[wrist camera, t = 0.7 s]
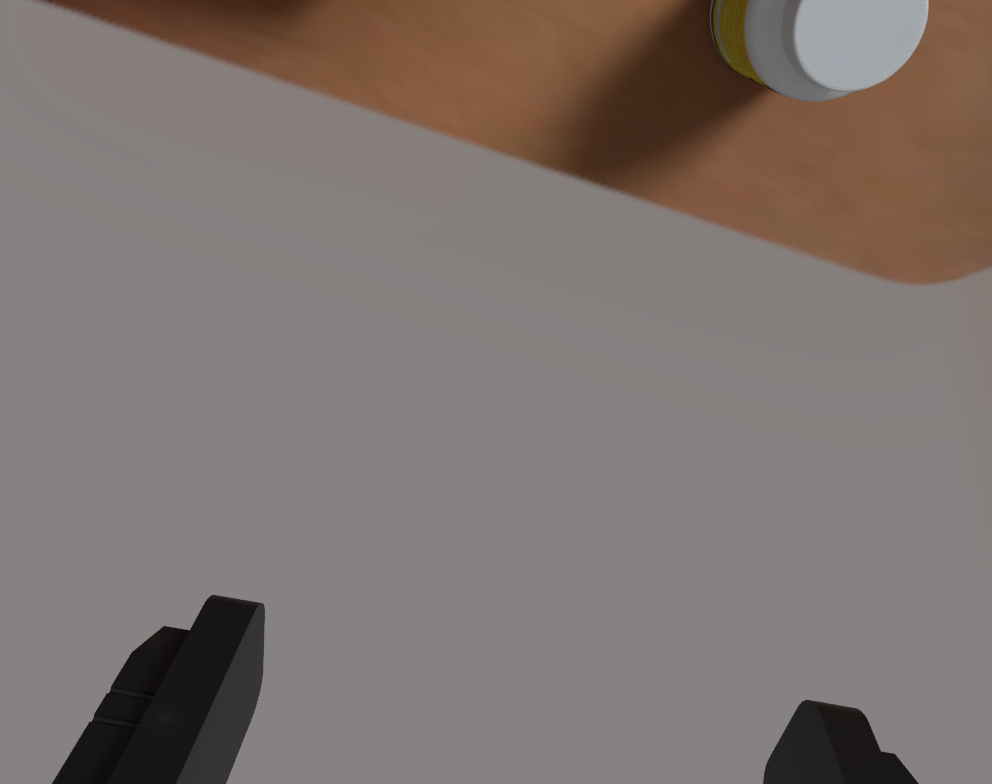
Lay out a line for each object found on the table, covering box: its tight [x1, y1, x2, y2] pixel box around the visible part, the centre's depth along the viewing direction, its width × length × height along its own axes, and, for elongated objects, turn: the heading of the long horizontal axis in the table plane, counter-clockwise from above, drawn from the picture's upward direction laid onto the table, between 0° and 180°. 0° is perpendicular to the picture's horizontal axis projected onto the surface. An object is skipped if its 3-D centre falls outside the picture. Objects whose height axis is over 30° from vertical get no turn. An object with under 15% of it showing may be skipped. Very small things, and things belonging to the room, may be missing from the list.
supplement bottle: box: [710, 0, 928, 102], centre depth 27 cm, size 5×5×10 cm
